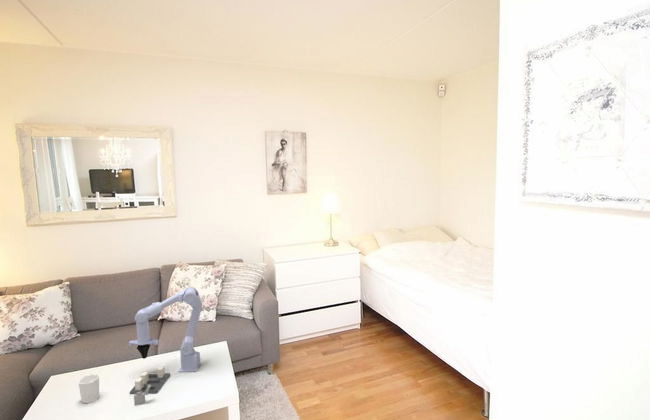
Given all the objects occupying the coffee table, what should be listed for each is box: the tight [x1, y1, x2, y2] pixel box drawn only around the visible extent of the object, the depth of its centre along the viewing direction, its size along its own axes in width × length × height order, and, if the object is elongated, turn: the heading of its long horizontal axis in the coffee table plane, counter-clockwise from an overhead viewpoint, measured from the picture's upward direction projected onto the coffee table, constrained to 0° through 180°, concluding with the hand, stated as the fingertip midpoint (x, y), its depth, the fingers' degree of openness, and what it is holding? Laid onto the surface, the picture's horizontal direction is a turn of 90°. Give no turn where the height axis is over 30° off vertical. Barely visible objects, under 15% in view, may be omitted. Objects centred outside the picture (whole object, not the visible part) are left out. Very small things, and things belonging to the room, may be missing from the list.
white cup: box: [78, 373, 100, 404], centre depth 157 cm, size 8×8×10 cm
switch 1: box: [134, 377, 144, 390], centre depth 163 cm, size 2×3×4 cm
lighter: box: [133, 384, 151, 406], centre depth 154 cm, size 7×2×8 cm, turn 107°
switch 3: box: [156, 365, 166, 378], centre depth 173 cm, size 2×3×4 cm
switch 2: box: [139, 371, 149, 384], centre depth 168 cm, size 2×3×4 cm
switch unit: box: [129, 372, 171, 395], centre depth 168 cm, size 13×15×1 cm
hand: (144, 357), depth 175 cm, fingers closed
